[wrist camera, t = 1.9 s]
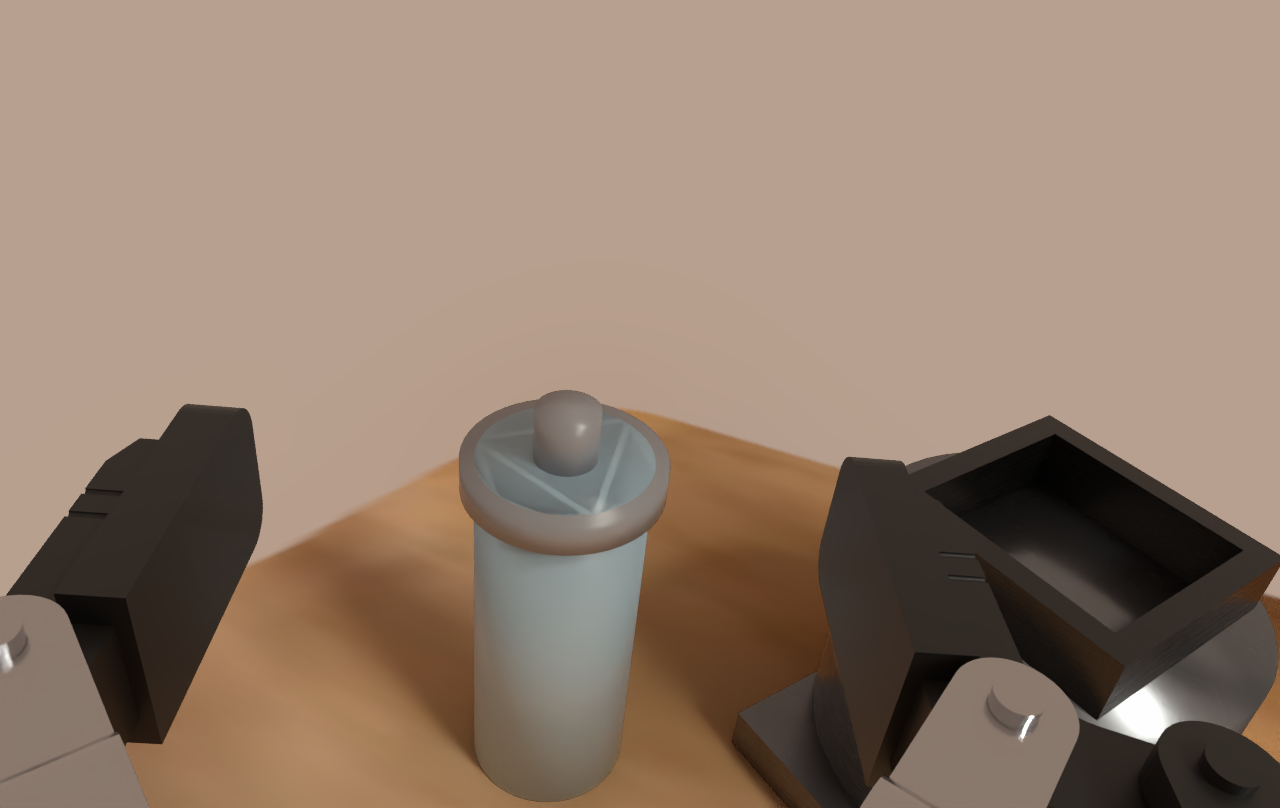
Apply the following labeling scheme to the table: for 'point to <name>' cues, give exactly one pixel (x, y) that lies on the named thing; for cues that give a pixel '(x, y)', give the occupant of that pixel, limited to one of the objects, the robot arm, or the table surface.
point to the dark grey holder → (1065, 605)
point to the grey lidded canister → (556, 585)
